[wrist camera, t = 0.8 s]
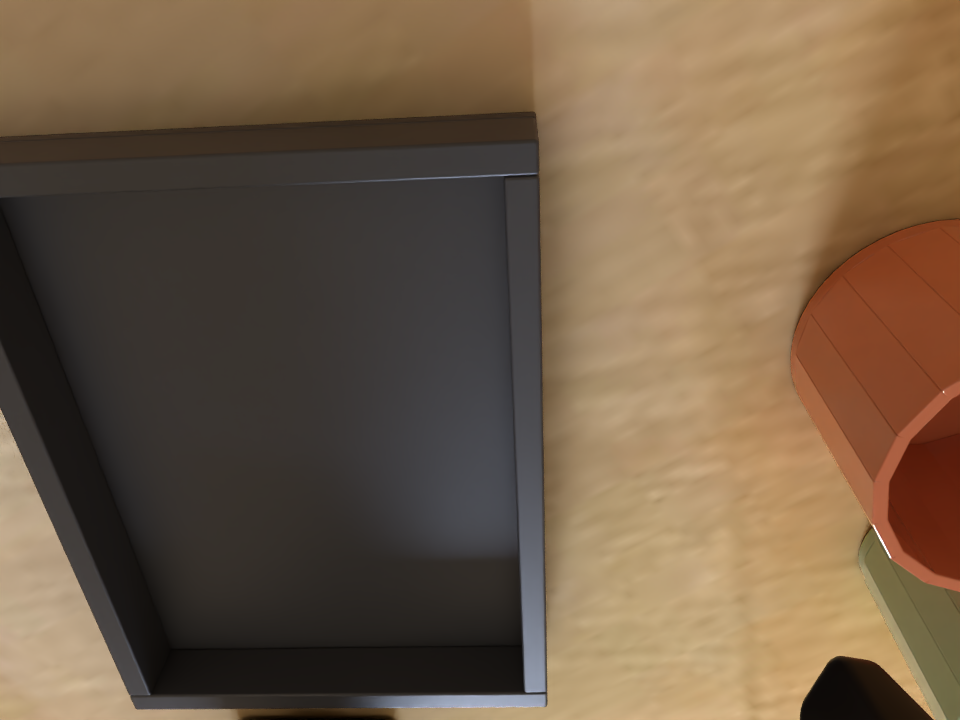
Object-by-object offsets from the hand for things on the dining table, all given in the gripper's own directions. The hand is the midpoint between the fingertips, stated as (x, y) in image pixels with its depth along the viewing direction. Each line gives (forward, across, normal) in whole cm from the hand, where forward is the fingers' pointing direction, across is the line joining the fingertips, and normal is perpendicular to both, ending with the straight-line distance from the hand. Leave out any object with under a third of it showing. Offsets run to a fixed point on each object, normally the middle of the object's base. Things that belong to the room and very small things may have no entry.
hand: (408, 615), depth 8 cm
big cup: (+14, -13, +2) cm, 19 cm away
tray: (+14, +3, +9) cm, 17 cm away
